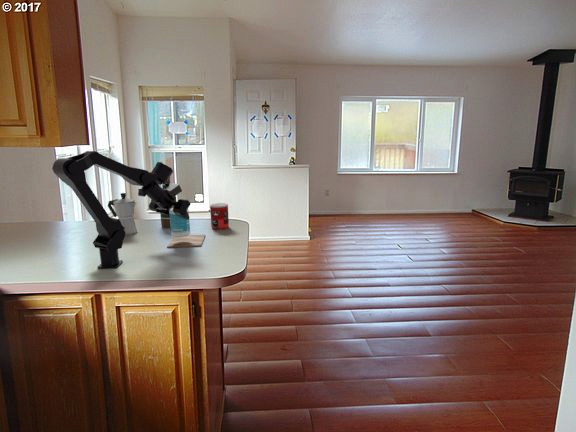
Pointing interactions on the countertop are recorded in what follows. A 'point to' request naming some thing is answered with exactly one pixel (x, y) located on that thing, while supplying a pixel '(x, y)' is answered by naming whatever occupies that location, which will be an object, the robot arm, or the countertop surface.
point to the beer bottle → (166, 216)
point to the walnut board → (186, 241)
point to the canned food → (219, 216)
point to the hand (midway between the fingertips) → (182, 217)
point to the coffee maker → (124, 213)
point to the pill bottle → (179, 225)
